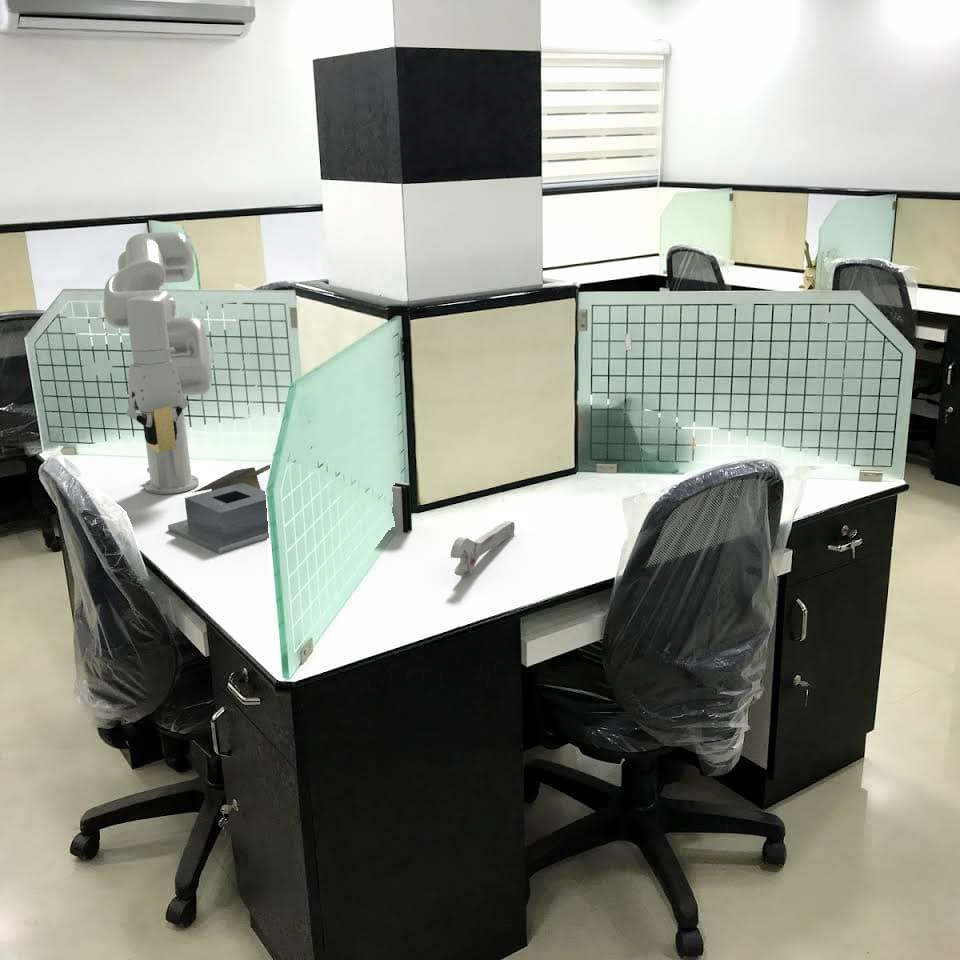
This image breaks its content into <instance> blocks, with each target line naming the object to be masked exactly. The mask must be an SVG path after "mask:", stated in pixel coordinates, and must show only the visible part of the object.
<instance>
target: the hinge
mask: <svg viewBox="0 0 960 960" xmlns="http://www.w3.org/2000/svg"><path fill="white" fill-rule="evenodd" d="M395 482H396V483H395V485H393V487H392V492H393V507H392V513H393V516H394V521H395V527H392V528H391V530H389V531H388V532H392V533H398V534H404V533H405V534H408V533H409V532H411V531H413V522H412V521H413V517H412V515H413V514H412V499H411V498H412V497H411V496H412V495H411V485H410V483H407V482H401V481H395Z"/></svg>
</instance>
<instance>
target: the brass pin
mask: <svg viewBox="0 0 960 960" xmlns="http://www.w3.org/2000/svg"><path fill="white" fill-rule="evenodd" d="M152 426H154V427H155V434H156V442H157V444H156V445H152V444H149V448H150V449H151V450H153V451H156V452H158V453H160V452H165V451H169V450H173V449H176V442H175V434H174V425H173V417H172V408H171V406H169V407H165V408H160V409H154V411H153V416H152Z"/></svg>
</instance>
